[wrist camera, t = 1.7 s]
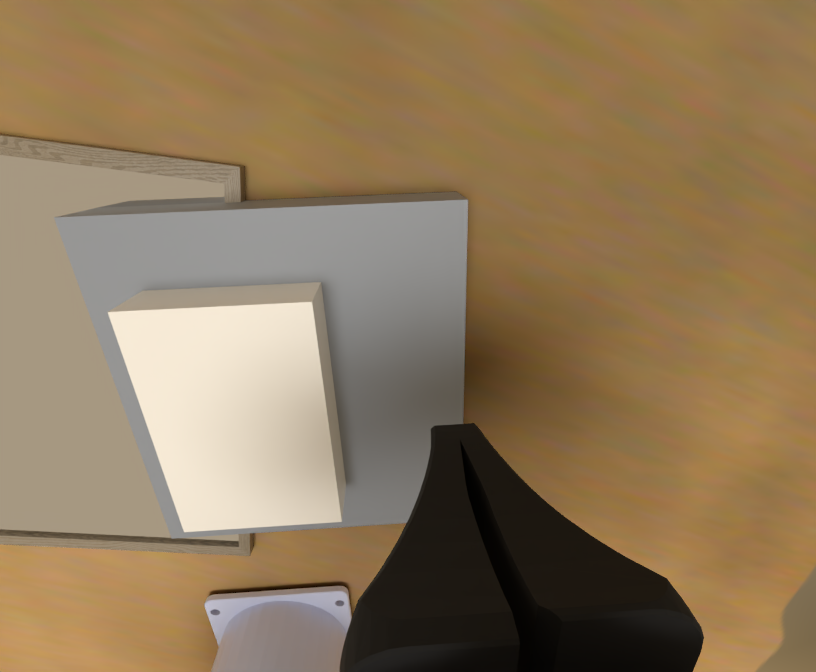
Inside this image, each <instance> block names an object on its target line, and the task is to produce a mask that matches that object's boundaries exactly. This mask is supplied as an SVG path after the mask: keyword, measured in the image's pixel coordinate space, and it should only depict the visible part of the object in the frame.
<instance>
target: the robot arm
mask: <svg viewBox="0 0 816 672" xmlns="http://www.w3.org/2000/svg"><path fill="white" fill-rule="evenodd" d="M204 606H205V609H206V612H207V615H208V618H209V620H210V623H211V626H212V629H213V632H214V635H215V637H216V640H217V643H218V646H219V648H218V651H217V654H216V658H215V661H214V664H213V667H212V670H211V672H693V669H694V667H695V664H696V662H697V660H698V657H699V655H700V652H701V649H702V644H703V639H704V636H703V632H702V629H701V626H700V625H699V623H698V622H697V620H696V619H695V617H694V616H693V614H692V613H691V611H690V609H689V608H688V606H687V605H686V604H685V602H684V601H683V599H682V598H681V596H680V595H679V594H678V593H677V591H676V590H675V589H674V588H673V586H672V585H671V584H670V582H669V581H668V580H667V578H665V577H663V576H661V575H659V574H657V573H655V572H653V571H651V570H649V569H648V568H646V567H644V566H642V565H640V564H638V563H636V562H634V561H632V560H630V559H628V558H627V557H625V556H623V555H621V554H620V553H618V552H616V551H615V550H613V549H612V548H610V547H608V546H607V545H605V544H603V543H602V542H600V541H598V540H597V539H595V538H594V537H592V536H591V535H589V534H588V533H586V532H585V531H584V530H582V529H581V528H579V527H578V526H577V525H575V524H574V523H572V522H571V521H569V520H568V519H567V518H565V517H564V516H563V515H561V514H560V513H559V512H558V511H556V510H555V509H554V508H553V507H552V506H550V505H549V504H548V503H547V502H546V501H544V500H543V499H542V498H541V497H540V496H539V495H538V494H537V493H536V492H535V491H533V490H532V489H531V488H530V487H529V486H528V485H527V484H526V483H525V482H524V481H523V480H522V479H521V478H520V477H519V476H518V475H517V474H516V473H515V471H514V470H513V469H512V468H511V467H510V466H509V465H508V464H507V463H506V462H505V460H504V459H503V458H502V457H501V456H500V455H499V454H498V452H497V451H496V450H495V449H494V448H493V446H492V445H491V444H490V443H489V441H488V440H487V439H486V437H485V436H484V435H483V433H482V432H481V431H480V429H479V428H478V427H477V426H476V425H475V424H474V423H471V424H453V425H436V426H433V427H432V428H431V450H430V456H429V460H428V465H427V469H426V473H425V477H424V480H423V483H422V486H421V489H420V492H419V495H418V498H417V500H416V503H415V505H414V508H413V510H412V513H411V515H410V517H409V519H408V521H407V523H406V526H405V528H404V530H403V532H402V534H401V536H400V538H399V539H398V541H397V543H396V545H395V547H394V548H393V550H392V552H391V553H390V555H389V556H388V558H387V560H386V561H385V563H384V565H383V566H382V568H381V569H380V571H379V572H378V574H377V575H376V577H375V578H374V580H373V581H372V582H371V584H370V585H369V586H368V588H367V589H366V590H365V592H364V593H363V595H362V596H361V597H360V599H359V600H358V603H357V605H356V608H355V611H354V614H353V616H352V614H351V607H350V600H349V593H348V589H347V588H346V587H344V586H327V587H313V588H298V589H284V590H270V591H256V592H242V593H228V594H214V595H210V596H208V597H207V599H206V601H205V604H204Z"/></svg>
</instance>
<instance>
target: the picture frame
mask: <svg viewBox="0 0 816 672" xmlns="http://www.w3.org/2000/svg"><path fill="white" fill-rule="evenodd" d="M243 201H245V166H240V165H232V164H225V163H217V162H210V161H202V160H194V159H187V158H179V157H172V156H164V155H156V154H149V153H141V152H134V151H126V150H118V149H111V148H103V147H96V146H88V145H80V144H73V143H65V142H58V141H50V140H43V139H35V138H27V137H20V136H12V135H5V134H0V544H3V545H24V546H45V547H67V548H88V549H110V550H131V551H153V552H174V553H196V554H217V555H239V556H250V555H251V552H252V549H253V546H254V543H253V533H249V534H234V535H219V536H204V537H189V538H174V539H172V538H171V535H170V533H169V530H168V527H167V524H166V522H165V519H164V516H163V514H162V511H161V508H160V505H159V503H158V500H157V497H156V494H155V492H154V489H153V486H152V484H151V481H150V478H149V475H148V473H147V470H146V467H145V465H144V462H143V459H142V456H141V454H140V451H139V448H138V445H137V443H136V440H135V437H134V435H133V432H132V429H131V426H130V424H129V421H128V418H127V415H126V413H125V410H124V407H123V405H122V402H121V399H120V396H119V394H118V391H117V388H116V386H115V383H114V380H113V377H112V375H111V372H110V369H109V366H108V364H107V361H106V358H105V356H104V353H103V350H102V347H101V345H100V342H99V339H98V337H97V334H96V331H95V328H94V326H93V323H92V320H91V317H90V315H89V312H88V309H87V307H86V304H85V301H84V298H83V296H82V293H81V290H80V287H79V285H78V282H77V279H76V277H75V274H74V271H73V268H72V266H71V263H70V260H69V258H68V255H67V252H66V249H65V247H64V244H63V241H62V238H61V236H60V233H59V230H58V228H57V225H56V222H55V219H54V217H58V216H62V215H67V214H71V213H76V212H80V211H84V210H89V209H93V208H104V207H127V206H151V205H174V204H198V203H222V202H225V203H235V202H243Z"/></svg>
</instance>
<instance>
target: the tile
mask: <svg viewBox="0 0 816 672" xmlns="http://www.w3.org/2000/svg"><path fill="white" fill-rule="evenodd" d="M108 315H109V318H110V321H111V324H112V326H113V329H114V332H115V335H116V338H117V341H118V344H119V347H120V349H121V352H122V355H123V358H124V361H125V364H126V367H127V370H128V372H129V375H130V378H131V381H132V384H133V387H134V390H135V393H136V395H137V398H138V401H139V404H140V407H141V410H142V413H143V416H144V418H145V421H146V424H147V427H148V430H149V433H150V436H151V439H152V441H153V444H154V447H155V450H156V453H157V456H158V459H159V462H160V464H161V467H162V470H163V473H164V476H165V479H166V482H167V485H168V488H169V490H170V493H171V496H172V499H173V502H174V505H175V508H176V511H177V513H178V516H179V519H180V522H181V525H182V528H183V531H184V532H196V531H211V530H226V529H241V528H257V527H272V526H287V525H302V524H317V523H332V522H342V516H343V507H344V498H345V489H346V480H345V472H344V464H343V456H342V447H341V439H340V431H339V423H338V415H337V407H336V399H335V391H334V383H333V375H332V367H331V358H330V350H329V342H328V334H327V326H326V318H325V310H324V302H323V294H322V286H321V282H312V283H291V284H271V285H250V286H230V287H209V288H189V289H168V290H147V291H141V292H140V293H138V294H136V295H135V296H133V297H131V298H130V299H128V300H126V301H125V302H123V303H122V304H120V305H118V306H117V307H115V308H113V309H112V310H110V311H108Z"/></svg>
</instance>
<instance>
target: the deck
mask: <svg viewBox="0 0 816 672" xmlns="http://www.w3.org/2000/svg"><path fill="white" fill-rule="evenodd" d="M54 219H55V222H56V225H57V228H58V230H59V233H60V236H61V238H62V241H63V244H64V247H65V249H66V252H67V255H68V258H69V260H70V263H71V266H72V268H73V271H74V274H75V277H76V279H77V282H78V285H79V287H80V290H81V293H82V296H83V298H84V301H85V304H86V307H87V309H88V312H89V315H90V317H91V320H92V323H93V326H94V328H95V331H96V334H97V337H98V339H99V342H100V345H101V347H102V350H103V353H104V356H105V358H106V361H107V364H108V366H109V369H110V372H111V375H112V377H113V380H114V383H115V386H116V388H117V391H118V394H119V396H120V399H121V402H122V405H123V407H124V410H125V413H126V415H127V418H128V421H129V424H130V426H131V429H132V432H133V435H134V437H135V440H136V443H137V445H138V448H139V451H140V454H141V456H142V459H143V462H144V465H145V467H146V470H147V473H148V475H149V478H150V481H151V484H152V486H153V489H154V492H155V494H156V497H157V500H158V503H159V505H160V508H161V511H162V514H163V516H164V519H165V522H166V524H167V527H168V530H169V533H170V535H171V538H172V539H174V538H189V537H204V536H219V535H234V534H249V533H264V532H279V531H294V530H309V529H324V528H339V527H354V526H369V525H384V524H399V523H407V521H408V519H409V517H410V515H411V513H412V510H413V508H414V505H415V503H416V500H417V498H418V495H419V492H420V489H421V486H422V483H423V480H424V477H425V473H426V469H427V465H428V460H429V456H430V450H431V428H432V427H433V426H436V425H453V424H463V413H464V367H465V321H466V274H467V228H468V199H467V198H465V197H464V196H462V195H461V194H459V193H458V192H432V193H409V194H385V195H362V196H338V197H315V198H291V199H268V200H245V201H243V202H235V203H225V202H222V203H198V204H174V205H151V206H127V207H104V208H93V209H89V210H84V211H80V212H76V213H71V214H67V215H62V216H58V217H54ZM312 282H321V286H322V294H323V302H324V310H325V318H326V326H327V334H328V342H329V350H330V358H331V367H332V375H333V383H334V391H335V399H336V407H337V415H338V423H339V431H340V439H341V447H342V456H343V464H344V472H345V480H346V489H345V498H344V507H343V516H342V522H332V523H317V524H302V525H287V526H272V527H257V528H241V529H226V530H211V531H196V532H184V531H183V528H182V525H181V522H180V519H179V516H178V513H177V511H176V508H175V505H174V502H173V499H172V496H171V493H170V490H169V488H168V485H167V482H166V479H165V476H164V473H163V470H162V467H161V464H160V462H159V459H158V456H157V453H156V450H155V447H154V444H153V441H152V439H151V436H150V433H149V430H148V427H147V424H146V421H145V418H144V416H143V413H142V410H141V407H140V404H139V401H138V398H137V395H136V393H135V390H134V387H133V384H132V381H131V378H130V375H129V372H128V370H127V367H126V364H125V361H124V358H123V355H122V352H121V349H120V347H119V344H118V341H117V338H116V335H115V332H114V329H113V326H112V324H111V321H110V318H109V315H108V311H110V310H112V309H113V308H115V307H117V306H118V305H120V304H122V303H123V302H125V301H126V300H128V299H130V298H131V297H133V296H135V295H136V294H138V293H140V292H141V291H147V290H168V289H189V288H209V287H230V286H250V285H271V284H291V283H312Z"/></svg>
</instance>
